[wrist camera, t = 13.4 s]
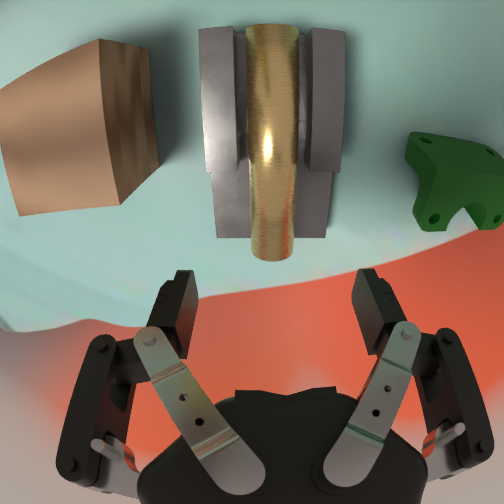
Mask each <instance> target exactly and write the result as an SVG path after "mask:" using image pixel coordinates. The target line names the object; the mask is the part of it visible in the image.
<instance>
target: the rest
mask: <svg viewBox="0 0 504 504" xmlns="http://www.w3.org/2000/svg"><path fill="white" fill-rule="evenodd" d="M199 60H200V83H201V102H202V118H203V133H204V146H205V159H206V171H207V172H211V181H212V193H213V204H214V215H215V225H216V235H217V238H251V213H250V176H249V139H248V102H247V64H246V33H239V34H236V32H235V30H234V28H233V26H226V27H214V28H205V29H199ZM344 104H345V32H343V31H337V30H330V29H322V28H311V29H310V30H309V32H308V33H307V34H306V35H304V34H299V139H298V169H297V192H296V211H295V227H294V238H325V235H326V228H327V220H328V212H329V203H330V194H331V184H332V173H333V172H336V173H340V164H341V153H342V140H343V124H344Z"/></svg>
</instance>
